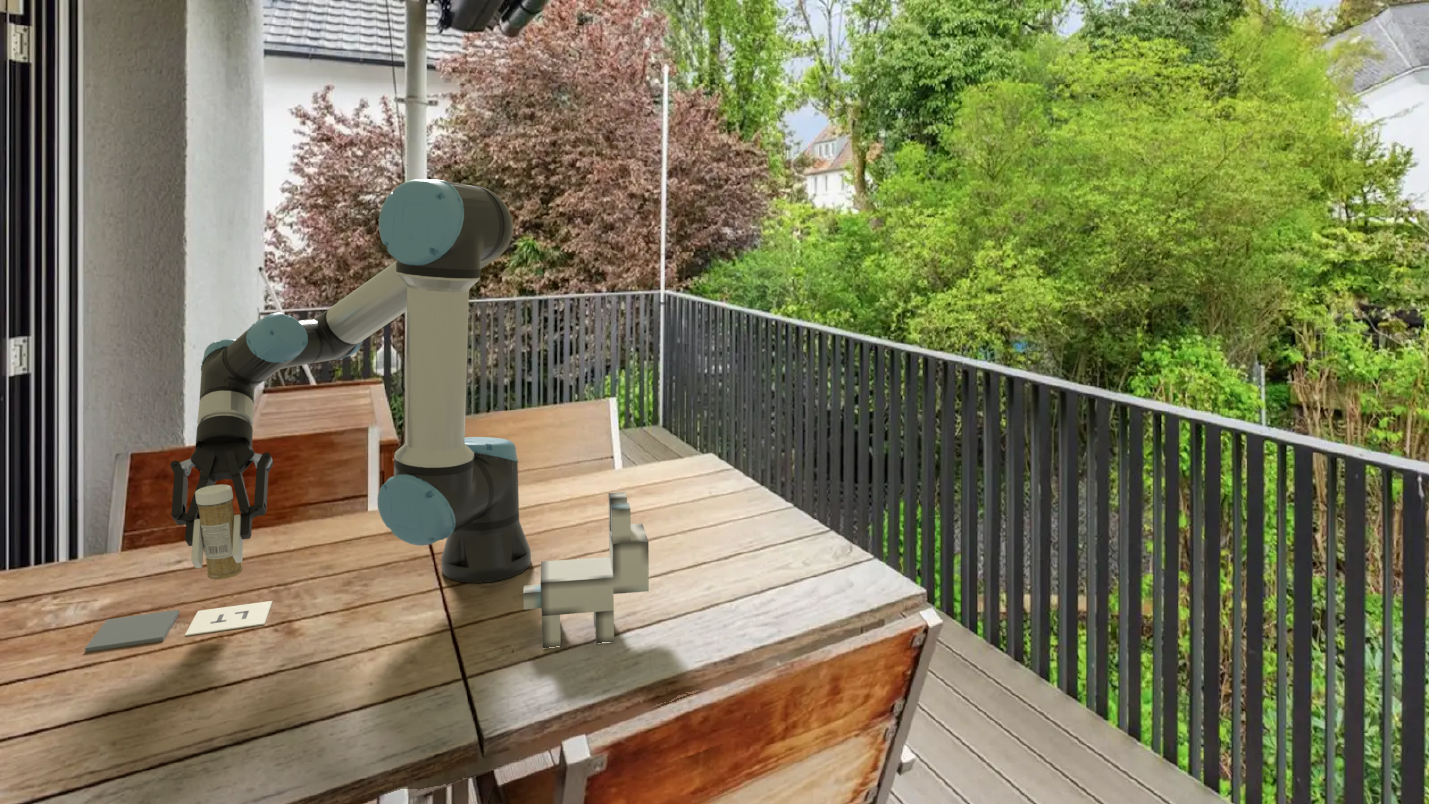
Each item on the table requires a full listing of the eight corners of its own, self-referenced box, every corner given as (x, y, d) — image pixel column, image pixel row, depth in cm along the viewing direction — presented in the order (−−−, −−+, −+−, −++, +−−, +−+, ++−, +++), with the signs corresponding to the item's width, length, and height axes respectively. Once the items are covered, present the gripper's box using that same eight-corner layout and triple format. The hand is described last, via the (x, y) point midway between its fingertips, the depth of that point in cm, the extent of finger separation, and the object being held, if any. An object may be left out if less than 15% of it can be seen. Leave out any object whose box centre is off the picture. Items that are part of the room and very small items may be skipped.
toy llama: (526, 625, 116) (521, 497, 112) (642, 615, 119) (642, 491, 115) (524, 650, 108) (519, 514, 105) (648, 639, 112) (648, 507, 108)
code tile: (272, 601, 122) (272, 600, 122) (264, 624, 115) (264, 623, 115) (198, 612, 118) (197, 610, 118) (185, 636, 111) (184, 634, 111)
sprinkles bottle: (249, 568, 118) (238, 483, 115) (231, 580, 113) (219, 492, 111) (218, 569, 117) (206, 483, 115) (199, 581, 113) (187, 493, 110)
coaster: (179, 613, 118) (179, 609, 118) (163, 640, 110) (162, 636, 110) (107, 623, 115) (107, 619, 114) (85, 652, 106) (84, 648, 106)
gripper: (291, 434, 129) (289, 562, 117) (167, 444, 123) (153, 581, 111) (283, 408, 123) (280, 541, 111) (153, 418, 117) (136, 560, 105)
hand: (217, 561), depth 111 cm, fingers closed on sprinkles bottle, 4 cm apart
